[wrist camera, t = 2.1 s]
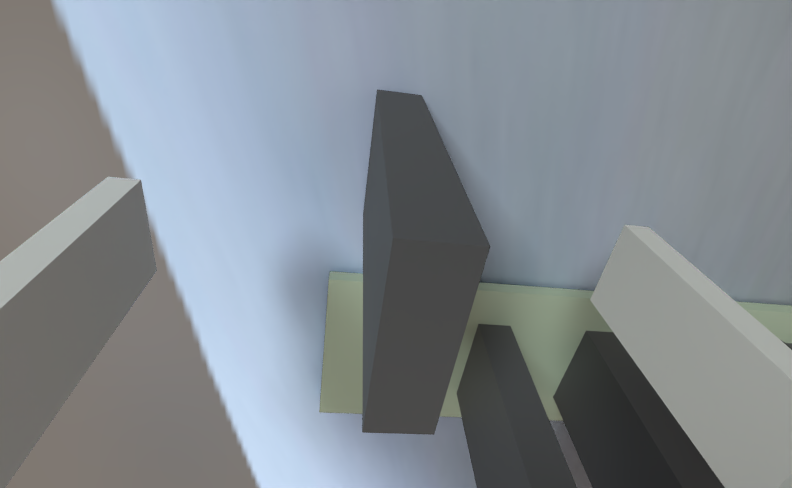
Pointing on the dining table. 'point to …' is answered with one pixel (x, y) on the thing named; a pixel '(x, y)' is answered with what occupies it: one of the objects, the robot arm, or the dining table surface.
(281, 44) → the dining table surface
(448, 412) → the strip
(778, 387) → the robot arm
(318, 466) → the dining table surface
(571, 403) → the domino
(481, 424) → the domino
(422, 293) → the domino
